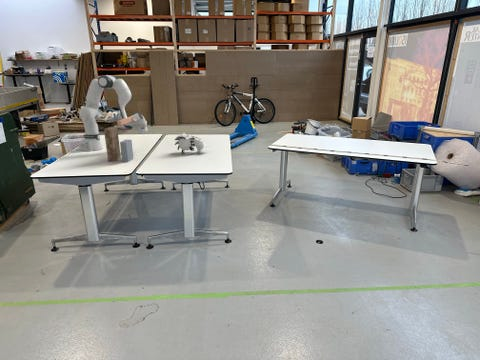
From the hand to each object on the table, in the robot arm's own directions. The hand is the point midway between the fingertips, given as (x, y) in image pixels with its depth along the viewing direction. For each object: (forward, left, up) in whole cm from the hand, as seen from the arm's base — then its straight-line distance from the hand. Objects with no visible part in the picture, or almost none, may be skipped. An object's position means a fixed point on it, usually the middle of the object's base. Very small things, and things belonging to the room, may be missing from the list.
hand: (130, 118), depth 271 cm
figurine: (+45, +19, -32) cm, 59 cm away
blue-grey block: (0, -12, -32) cm, 34 cm away
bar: (0, -8, -2) cm, 8 cm away
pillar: (-12, -12, -32) cm, 36 cm away
